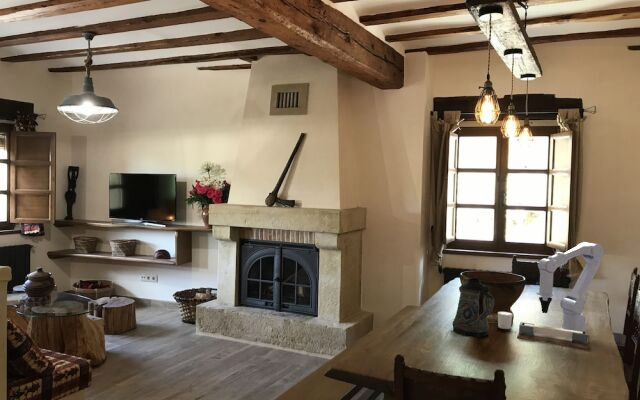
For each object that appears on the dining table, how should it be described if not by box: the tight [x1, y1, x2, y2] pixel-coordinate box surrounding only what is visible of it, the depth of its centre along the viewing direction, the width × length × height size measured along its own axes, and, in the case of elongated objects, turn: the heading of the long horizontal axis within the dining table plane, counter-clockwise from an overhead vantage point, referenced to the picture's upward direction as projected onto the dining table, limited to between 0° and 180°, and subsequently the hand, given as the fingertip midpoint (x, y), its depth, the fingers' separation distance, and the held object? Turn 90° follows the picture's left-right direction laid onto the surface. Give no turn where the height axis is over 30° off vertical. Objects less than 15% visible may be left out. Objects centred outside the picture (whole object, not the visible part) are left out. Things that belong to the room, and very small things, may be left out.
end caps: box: [518, 321, 589, 345], centre depth 243 cm, size 28×6×4 cm, turn 64°
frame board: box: [516, 332, 589, 350], centre depth 243 cm, size 29×10×1 cm, turn 64°
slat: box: [524, 323, 583, 339], centre depth 243 cm, size 24×3×3 cm, turn 64°
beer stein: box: [451, 277, 495, 338], centre depth 250 cm, size 16×19×25 cm
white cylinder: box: [497, 311, 513, 330], centre depth 262 cm, size 7×7×7 cm
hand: (544, 312), depth 256 cm, fingers closed
